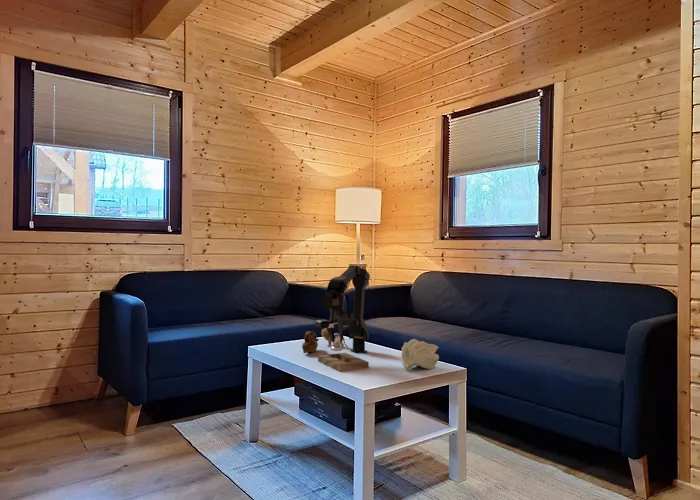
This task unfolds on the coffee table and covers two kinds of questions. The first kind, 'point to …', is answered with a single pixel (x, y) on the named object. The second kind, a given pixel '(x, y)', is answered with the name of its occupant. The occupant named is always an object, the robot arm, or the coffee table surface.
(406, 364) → the folded clay sculpture
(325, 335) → the lion figurine
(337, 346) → the steel peg
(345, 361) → the keyhole plate
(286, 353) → the coffee table surface
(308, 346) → the wooden carving
